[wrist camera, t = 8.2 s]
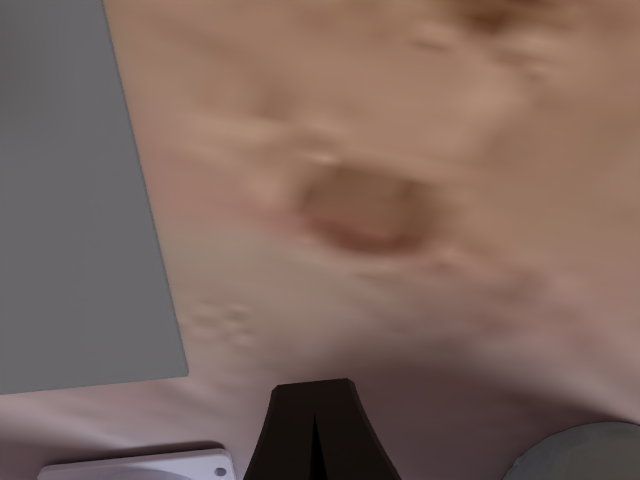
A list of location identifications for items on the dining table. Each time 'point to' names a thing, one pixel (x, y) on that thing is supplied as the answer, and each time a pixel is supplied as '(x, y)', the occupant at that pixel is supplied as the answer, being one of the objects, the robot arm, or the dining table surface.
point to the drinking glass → (583, 454)
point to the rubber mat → (74, 212)
